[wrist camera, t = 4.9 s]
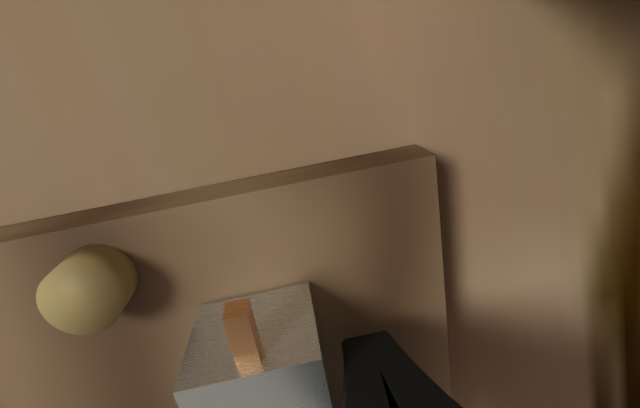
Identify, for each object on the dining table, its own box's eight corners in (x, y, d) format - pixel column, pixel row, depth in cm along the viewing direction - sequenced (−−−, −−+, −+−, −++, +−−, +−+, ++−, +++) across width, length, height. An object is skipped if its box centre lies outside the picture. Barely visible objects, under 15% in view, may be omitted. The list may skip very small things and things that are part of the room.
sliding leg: (238, 424, 12) (229, 534, 9) (186, 267, 10) (153, 344, 7) (333, 402, 12) (352, 503, 9) (300, 243, 10) (311, 309, 7)
